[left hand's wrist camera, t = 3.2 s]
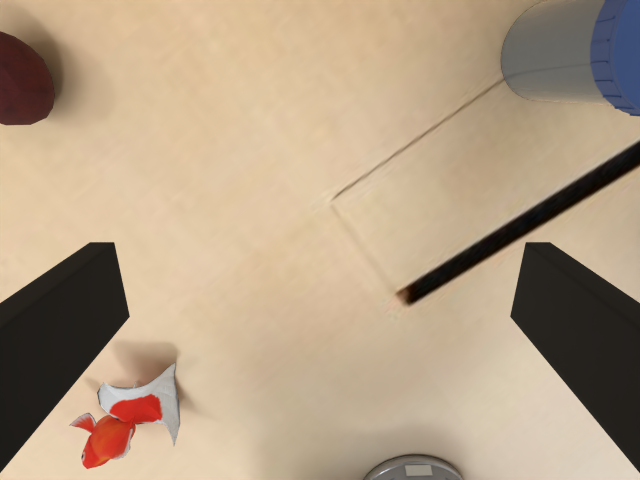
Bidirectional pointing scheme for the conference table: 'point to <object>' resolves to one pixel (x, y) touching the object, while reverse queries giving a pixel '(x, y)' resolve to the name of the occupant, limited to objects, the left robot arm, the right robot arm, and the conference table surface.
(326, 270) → the conference table surface
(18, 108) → the dark maroon ball
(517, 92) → the jar
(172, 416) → the fish
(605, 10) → the lid
